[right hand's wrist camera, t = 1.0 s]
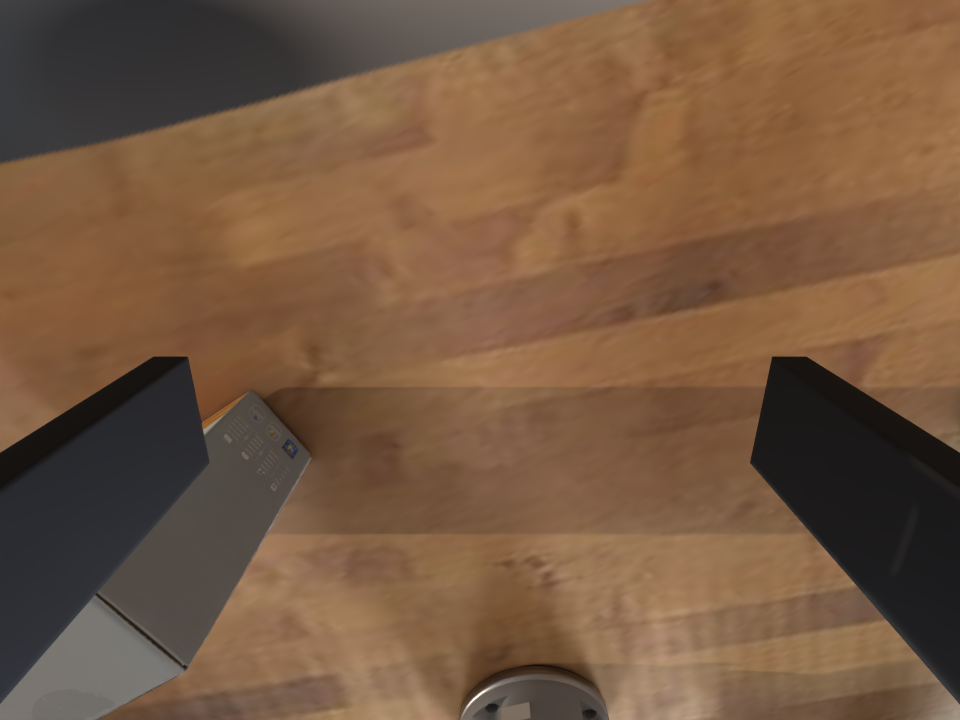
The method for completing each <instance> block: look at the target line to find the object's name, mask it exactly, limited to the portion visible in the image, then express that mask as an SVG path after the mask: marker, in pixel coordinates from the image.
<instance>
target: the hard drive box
mask: <svg viewBox="0 0 960 720" xmlns="http://www.w3.org/2000/svg"><path fill="white" fill-rule="evenodd" d="M202 428H203V432H204V437H205V442H206V447H207V452H208V456H209V461H210V463H209V464H208V466H207V467H206V468H205V469H204V470H203V471H202V472H201V474H200V475H199V476H198V477H197V478H196V479H195V480H194V482H193V483H192V484H191V485H190V486H189V487H188V489H187V490H186V491H185V492H184V493H183V494H182V495H181V497H180V498H179V499H178V500H177V501H176V502H175V504H174V505H173V506H172V507H171V508H170V509H169V510H168V512H167V513H166V514H165V515H164V516H163V517H162V518H161V520H160V521H159V522H158V523H157V524H156V525H155V527H154V528H153V529H152V530H151V531H150V532H149V533H148V535H147V536H146V537H145V538H144V539H143V540H142V541H141V543H140V544H139V545H138V546H137V547H136V548H135V550H134V551H133V552H132V553H131V554H130V555H129V556H128V558H127V559H126V560H125V561H124V562H123V563H122V565H121V566H120V567H119V568H118V569H117V570H116V571H115V573H114V574H113V575H112V576H111V577H110V578H109V579H108V581H107V582H106V583H105V584H104V585H103V586H102V588H101V589H100V590H99V591H98V592H97V593H96V594H95V596H94V597H93V598H92V599H91V600H90V601H89V602H88V604H87V605H86V606H85V607H84V608H83V609H82V611H81V612H80V613H79V614H78V615H77V616H76V617H75V619H74V620H73V621H72V622H71V623H70V624H69V626H68V627H67V628H66V629H65V630H64V631H63V632H62V634H61V635H60V636H59V637H58V638H57V639H56V640H55V642H54V643H53V644H52V645H51V646H50V647H49V649H48V650H47V651H46V652H45V653H44V654H43V655H42V657H41V658H40V659H39V660H38V661H37V662H36V663H35V665H34V666H33V667H32V668H31V669H30V670H29V672H28V673H27V674H26V675H25V676H24V677H23V678H22V680H21V681H20V682H19V683H18V684H17V685H16V686H15V688H14V689H13V690H12V691H11V692H10V693H9V695H8V696H7V697H6V698H5V699H4V700H3V701H2V703H1V704H0V720H98V719H100V718H102V717H104V716H106V715H107V714H109V713H111V712H113V711H115V710H117V709H118V708H120V707H122V706H124V705H126V704H128V703H130V702H131V701H133V700H135V699H137V698H139V697H141V696H143V695H145V694H146V693H148V692H150V691H152V690H154V689H155V688H157V687H159V686H161V685H163V684H164V683H166V682H168V681H170V680H171V679H173V678H175V677H177V676H178V675H180V674H182V673H183V672H185V671H186V670H187V668H188V667H189V665H190V664H191V662H192V661H193V659H194V658H195V656H196V654H197V652H198V650H199V649H200V647H201V645H202V644H203V642H204V641H205V639H206V637H207V636H208V634H209V632H210V631H211V629H212V627H213V625H214V624H215V622H216V620H217V619H218V617H219V615H220V613H221V612H222V610H223V608H224V607H225V605H226V603H227V601H228V600H229V598H230V596H231V595H232V593H233V591H234V590H235V588H236V586H237V584H238V583H239V581H240V579H241V578H242V576H243V574H244V573H245V571H246V569H247V567H248V566H249V564H250V562H251V561H252V559H253V557H254V556H255V554H256V552H257V551H258V549H259V547H260V546H261V544H262V542H263V541H264V539H265V537H266V535H267V534H268V532H269V530H270V529H271V527H272V525H273V524H274V522H275V520H276V519H277V517H278V515H279V513H280V512H281V510H282V508H283V507H284V505H285V503H286V502H287V500H288V498H289V497H290V495H291V493H292V491H293V490H294V488H295V486H296V485H297V483H298V481H299V480H300V478H301V476H302V475H303V473H304V471H305V470H306V468H307V466H308V464H309V463H310V461H311V458H310V456H311V454H310V453H309V452H308V451H307V450H306V449H305V447H304V446H303V445H302V444H301V443H300V442H299V441H298V440H297V439H296V437H295V436H294V435H293V434H292V433H291V432H290V431H289V430H288V429H287V428H286V426H285V425H284V424H283V423H282V422H281V421H280V420H279V419H278V418H277V417H276V415H275V414H274V413H273V412H272V411H271V410H270V409H269V408H268V406H267V405H266V404H265V403H264V402H263V401H262V400H261V399H260V398H259V396H258V395H257V394H256V393H255V392H254V391H249V392H247V393H246V394H244V395H242V396H241V397H239V398H238V399H236V400H235V401H233V402H232V403H230V404H229V405H228V406H226V407H225V408H223V409H221V410H220V411H219V412H217V413H216V414H214V415H213V416H211V417H210V418H208V419H207V420H205V421H204V422H202Z"/></svg>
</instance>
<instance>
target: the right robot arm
mask: <svg viewBox="0 0 960 720" xmlns="http://www.w3.org/2000/svg"><path fill="white" fill-rule="evenodd" d="M209 463H210V461H209V456H208V452H207V447H206V442H205V437H204V432H203V428H202V423H201V418H200V413H199V409H198V404H197V399H196V394H195V389H194V385H193V380H192V375H191V370H190V365H189V361H188V357H152V358H151V359H149V360H147V361H146V362H144V363H143V364H141V365H140V366H138V367H136V368H135V369H133V370H132V371H130V372H128V373H127V374H125V375H124V376H122V377H120V378H119V379H117V380H116V381H114V382H112V383H111V384H109V385H108V386H106V387H104V388H103V389H101V390H100V391H98V392H96V393H95V394H93V395H92V396H90V397H89V398H87V399H85V400H84V401H82V402H81V403H79V404H77V405H76V406H74V407H73V408H71V409H69V410H68V411H66V412H65V413H63V414H61V415H60V416H58V417H57V418H55V419H53V420H52V421H50V422H49V423H47V424H45V425H44V426H42V427H41V428H39V429H37V430H36V431H34V432H33V433H31V434H30V435H28V436H26V437H25V438H23V439H22V440H20V441H18V442H17V443H15V444H14V445H12V446H10V447H9V448H7V449H6V450H4V451H2V452H1V453H0V704H1V703H2V701H3V700H4V699H5V698H6V697H7V696H8V695H9V693H10V692H11V691H12V690H13V689H14V688H15V686H16V685H17V684H18V683H19V682H20V681H21V680H22V678H23V677H24V676H25V675H26V674H27V673H28V672H29V670H30V669H31V668H32V667H33V666H34V665H35V663H36V662H37V661H38V660H39V659H40V658H41V657H42V655H43V654H44V653H45V652H46V651H47V650H48V649H49V647H50V646H51V645H52V644H53V643H54V642H55V640H56V639H57V638H58V637H59V636H60V635H61V634H62V632H63V631H64V630H65V629H66V628H67V627H68V626H69V624H70V623H71V622H72V621H73V620H74V619H75V617H76V616H77V615H78V614H79V613H80V612H81V611H82V609H83V608H84V607H85V606H86V605H87V604H88V602H89V601H90V600H91V599H92V598H93V597H94V596H95V594H96V593H97V592H98V591H99V590H100V589H101V588H102V586H103V585H104V584H105V583H106V582H107V581H108V579H109V578H110V577H111V576H112V575H113V574H114V573H115V571H116V570H117V569H118V568H119V567H120V566H121V565H122V563H123V562H124V561H125V560H126V559H127V558H128V556H129V555H130V554H131V553H132V552H133V551H134V550H135V548H136V547H137V546H138V545H139V544H140V543H141V541H142V540H143V539H144V538H145V537H146V536H147V535H148V533H149V532H150V531H151V530H152V529H153V528H154V527H155V525H156V524H157V523H158V522H159V521H160V520H161V518H162V517H163V516H164V515H165V514H166V513H167V512H168V510H169V509H170V508H171V507H172V506H173V505H174V504H175V502H176V501H177V500H178V499H179V498H180V497H181V495H182V494H183V493H184V492H185V491H186V490H187V489H188V487H189V486H190V485H191V484H192V483H193V482H194V480H195V479H196V478H197V477H198V476H199V475H200V474H201V472H202V471H203V470H204V469H205V468H206V467H207V466H208V464H209ZM750 463H751V464H752V466H753V467H754V468H755V469H756V470H757V471H758V472H759V474H760V475H761V476H762V477H763V478H764V479H765V480H766V482H767V483H768V484H769V485H770V486H771V487H772V489H773V490H774V491H775V492H776V493H777V494H778V495H779V497H780V498H781V499H782V500H783V501H784V502H785V504H786V505H787V506H788V507H789V508H790V509H791V510H792V512H793V513H794V514H795V515H796V516H797V517H798V518H799V520H800V521H801V522H802V523H803V524H804V525H805V527H806V528H807V529H808V530H809V531H810V532H811V533H812V535H813V536H814V537H815V538H816V539H817V540H818V541H819V543H820V544H821V545H822V546H823V547H824V548H825V550H826V551H827V552H828V553H829V554H830V555H831V556H832V558H833V559H834V560H835V561H836V562H837V563H838V565H839V566H840V567H841V568H842V569H843V570H844V571H845V573H846V574H847V575H848V576H849V577H850V578H851V579H852V581H853V582H854V583H855V584H856V585H857V586H858V588H859V589H860V590H861V591H862V592H863V593H864V594H865V596H866V597H867V598H868V599H869V600H870V601H871V602H872V604H873V605H874V606H875V607H876V608H877V609H878V611H879V612H880V613H881V614H882V615H883V616H884V617H885V619H886V620H887V621H888V622H889V623H890V624H891V626H892V627H893V628H894V629H895V630H896V631H897V632H898V634H899V635H900V636H901V637H902V638H903V639H904V640H905V642H906V643H907V644H908V645H909V646H910V647H911V649H912V650H913V651H914V652H915V653H916V654H917V655H918V657H919V658H920V659H921V660H922V661H923V662H924V663H925V665H926V666H927V667H928V668H929V669H930V670H931V672H932V673H933V674H934V675H935V676H936V677H937V678H938V680H939V681H940V682H941V683H942V684H943V685H944V687H945V688H946V689H947V690H948V691H949V692H950V693H951V695H952V696H953V697H954V698H955V699H956V700H957V701H958V703H959V704H960V453H959V452H958V451H956V450H954V449H953V448H951V447H950V446H948V445H946V444H945V443H943V442H942V441H940V440H938V439H937V438H935V437H934V436H932V435H930V434H929V433H927V432H926V431H924V430H923V429H921V428H919V427H918V426H916V425H915V424H913V423H911V422H910V421H908V420H907V419H905V418H903V417H902V416H900V415H899V414H897V413H895V412H894V411H892V410H891V409H889V408H887V407H886V406H884V405H883V404H881V403H879V402H878V401H876V400H875V399H873V398H871V397H870V396H868V395H867V394H865V393H864V392H862V391H860V390H859V389H857V388H856V387H854V386H852V385H851V384H849V383H848V382H846V381H844V380H843V379H841V378H840V377H838V376H836V375H835V374H833V373H832V372H830V371H828V370H827V369H825V368H824V367H822V366H820V365H819V364H817V363H816V362H814V361H813V360H811V359H809V358H808V357H772V361H771V365H770V370H769V375H768V380H767V385H766V389H765V394H764V399H763V404H762V409H761V413H760V418H759V423H758V428H757V432H756V437H755V442H754V447H753V452H752V456H751V461H750ZM460 720H609V717H608V713H607V708H606V705H605V702H604V700H603V698H602V696H601V694H600V693H599V692H598V690H597V689H596V688H595V687H594V686H593V685H592V684H591V683H589V682H588V681H587V680H585V679H584V678H582V677H580V676H578V675H576V674H574V673H572V672H569V671H566V670H563V669H559V668H554V667H546V666H526V667H518V668H513V669H509V670H505V671H502V672H500V673H497V674H495V675H493V676H491V677H489V678H487V679H485V680H484V681H482V682H481V683H479V684H478V685H477V686H476V687H475V688H474V689H473V690H472V691H471V692H470V693H469V694H468V696H467V697H466V699H465V700H464V702H463V705H462V707H461V711H460Z"/></svg>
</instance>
